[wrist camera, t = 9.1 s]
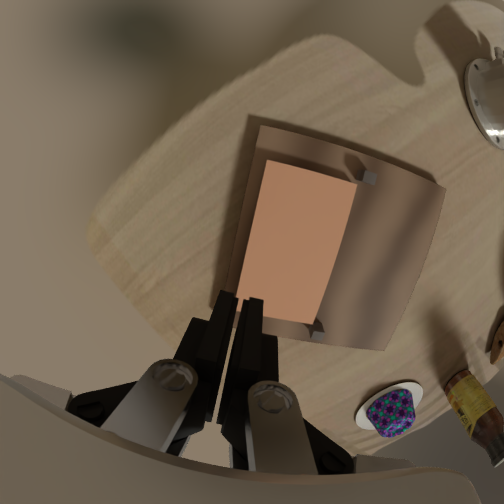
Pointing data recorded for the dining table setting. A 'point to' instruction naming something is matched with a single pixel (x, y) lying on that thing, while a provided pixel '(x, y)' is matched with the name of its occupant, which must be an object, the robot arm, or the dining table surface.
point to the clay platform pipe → (498, 345)
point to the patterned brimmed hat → (391, 410)
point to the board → (352, 240)
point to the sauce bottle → (477, 414)
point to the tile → (294, 240)
